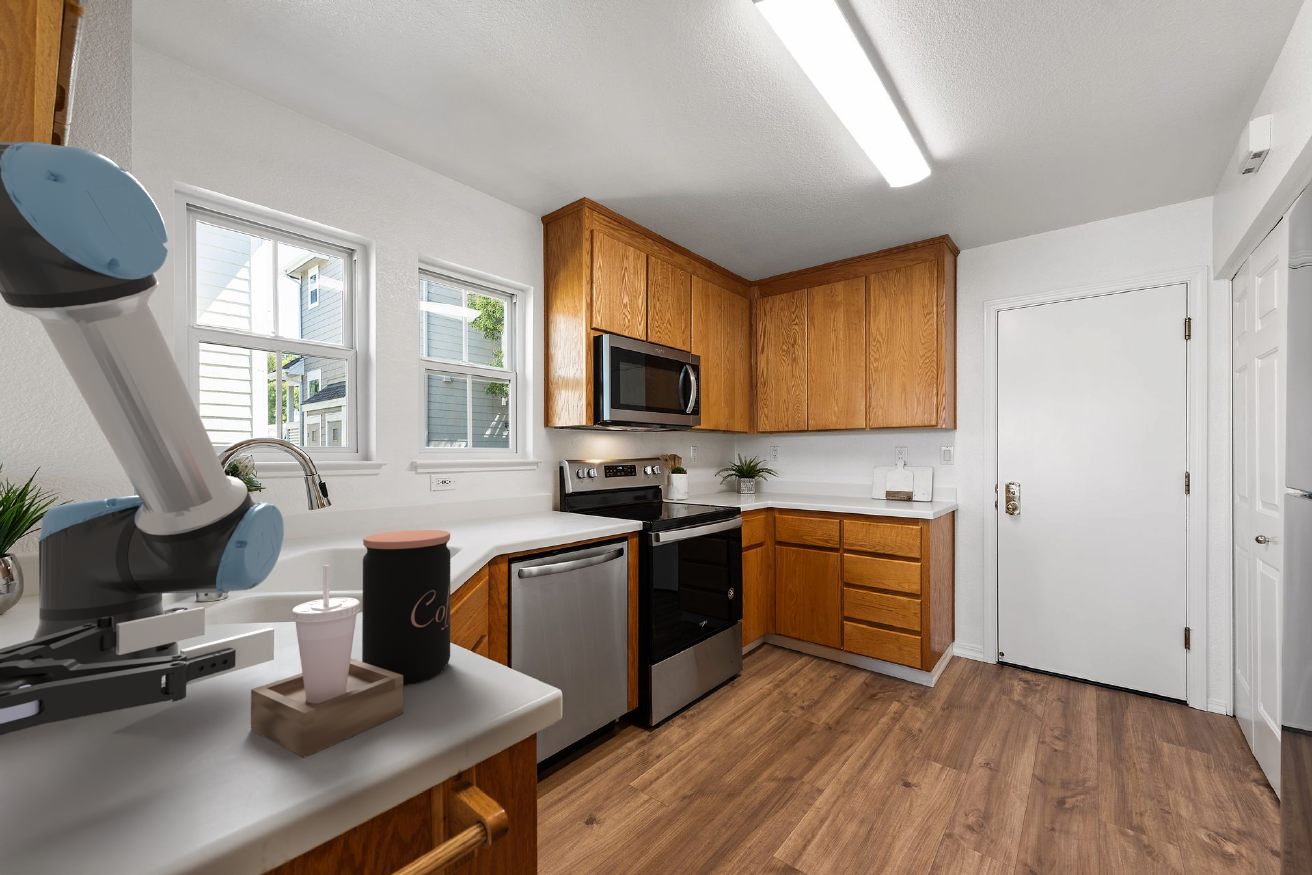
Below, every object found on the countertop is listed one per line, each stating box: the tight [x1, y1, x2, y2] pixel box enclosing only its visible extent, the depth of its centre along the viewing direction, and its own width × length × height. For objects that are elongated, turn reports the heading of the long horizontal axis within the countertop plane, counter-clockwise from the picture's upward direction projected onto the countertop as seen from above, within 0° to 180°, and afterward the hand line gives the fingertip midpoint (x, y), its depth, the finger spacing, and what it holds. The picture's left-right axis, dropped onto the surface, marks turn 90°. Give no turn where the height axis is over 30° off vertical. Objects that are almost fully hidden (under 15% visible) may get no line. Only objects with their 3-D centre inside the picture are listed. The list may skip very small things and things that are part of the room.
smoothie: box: [291, 564, 361, 703], centre depth 61 cm, size 6×6×14 cm
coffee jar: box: [361, 529, 451, 686], centre depth 75 cm, size 11×11×18 cm
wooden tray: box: [250, 658, 404, 758], centre depth 61 cm, size 10×10×4 cm
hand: (235, 631), depth 54 cm, fingers open, 13 cm apart
